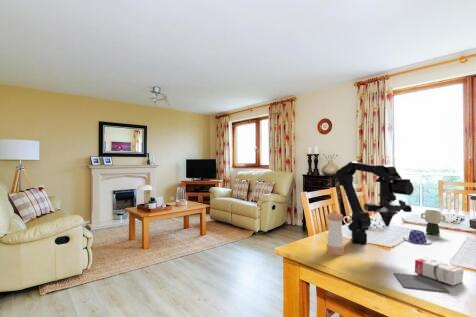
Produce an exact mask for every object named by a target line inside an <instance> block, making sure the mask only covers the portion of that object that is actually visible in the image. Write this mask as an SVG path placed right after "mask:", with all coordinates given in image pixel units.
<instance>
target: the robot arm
mask: <svg viewBox="0 0 476 317" xmlns="http://www.w3.org/2000/svg"><path fill="white" fill-rule="evenodd" d="M357 171H360V172H366V173H370V174H373V175H374V176H377V177H378V178H376V179H375V181H374V182H376V183H379V193H378V197H379V202H378V205H377V204H375V203H371V202H370V203H369V202H368V203H367V202H366V203H364V204H363V208H362V206H361V202H360V199H359V197H358V195H357V192H356V190H355V188H354V187H355V186H354V184H353V182H354V175H355V174H356V172H357ZM334 175H335V178H336V180H337V182H338V183H339V184H340V185H341V186H342V187H343V190H344V192H345V195H346V198H347V201H348V203H349V207H350V210H351V222H350V223H349V224H348V225H347V227H348V230H349V231H351V234H350V235H351V238H350V240H351V242H352V244H359V245H368V244H367V242H368V234H367V231H369V228H370V226H371V224H372V218H371V217H370V212H372V213H375V212H378V213H379V215H380V216H381V218H382V221H383V223H384V225H385V227H389V226H390V224H391V221H392V220H393V218H394V216H395V215H397V214H399V212H401V211H403V212H404V213H411V212H412V211H413V210H412V206H411V205H409V204H406V201H405V200H404V199H400V200H397V196H396V195H404V196H411V195H412V194H413V193H414V190H415V189H414V185H413V183H412V182H411V179H410V178H405V179H404V178H403V177H401V175H400V174H399V173H398V170H397V168H396V167H395V166H394V165H392V164H384V165H382V164H381V165H380V164H379V165H376V164H370V163H364V162H358V161H349V162H348V163H347V164H345V165H344V166H342V167H340V168H339V169H337V170H336V172H335V174H334ZM395 194H396V195H395ZM364 210H365V211H364Z"/></svg>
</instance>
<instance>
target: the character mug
mask: <svg viewBox="0 0 476 317" xmlns="http://www.w3.org/2000/svg"><path fill="white" fill-rule="evenodd" d="M441 213H442V212H441V211H439V210H435V209H425V210H424V212H421V213H420V218H421V219H422V220H425V222H426V223H427V224H426V228H425V232H426V233H427V234H430V235H439V234H440V232H441V231H440V226H439V224H440V223H441V222H445V221H446V215H442V214H441ZM441 218H442V219H441Z"/></svg>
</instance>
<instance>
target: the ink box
mask: <svg viewBox="0 0 476 317" xmlns="http://www.w3.org/2000/svg"><path fill="white" fill-rule="evenodd" d="M414 274H416V275H420V276H426V277H429V278H432V279H435V280H438V281H439V282H440V283H444V284H448V285H450V286H456V285H457V284H460V283H463V280H464V279H463V278H464V268H462V267H459V266H456V265H452V264H448V263H445V262H442V261H439V260H435V259H432V258H428V257H423V258H417V259H415V260H414Z"/></svg>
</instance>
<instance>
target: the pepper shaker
mask: <svg viewBox="0 0 476 317" xmlns="http://www.w3.org/2000/svg"><path fill="white" fill-rule="evenodd" d="M326 217H327V219H328V234H327V244H326V252H327V254H329V255H332V256H343V255H344V254H345V250H344V249H345V247H344V243H343V242H344V237H343V236H344V235H343V232H342V230H343V229H342V221H343V220H344V215H343V214H342V213H340V212H337V210H333V211H331V212H329V213H328V214H327V216H326Z"/></svg>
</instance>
